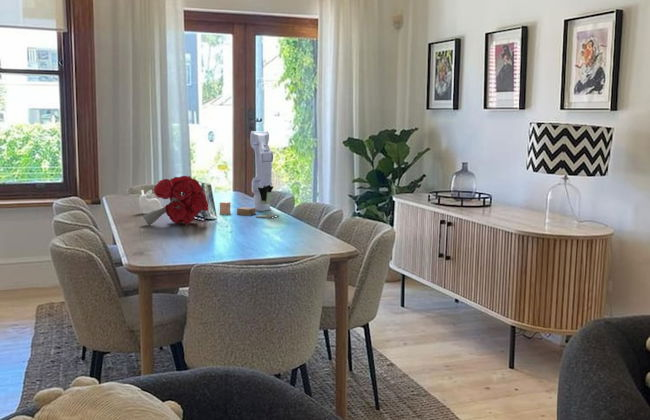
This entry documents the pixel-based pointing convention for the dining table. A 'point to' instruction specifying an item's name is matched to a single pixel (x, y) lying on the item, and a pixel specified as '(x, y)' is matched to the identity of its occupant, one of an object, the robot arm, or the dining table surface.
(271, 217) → the card
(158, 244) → the dining table surface
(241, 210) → the walnut slab
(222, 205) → the terracotta block
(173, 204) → the bouquet
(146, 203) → the rabbit
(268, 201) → the sage block
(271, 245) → the dining table surface
